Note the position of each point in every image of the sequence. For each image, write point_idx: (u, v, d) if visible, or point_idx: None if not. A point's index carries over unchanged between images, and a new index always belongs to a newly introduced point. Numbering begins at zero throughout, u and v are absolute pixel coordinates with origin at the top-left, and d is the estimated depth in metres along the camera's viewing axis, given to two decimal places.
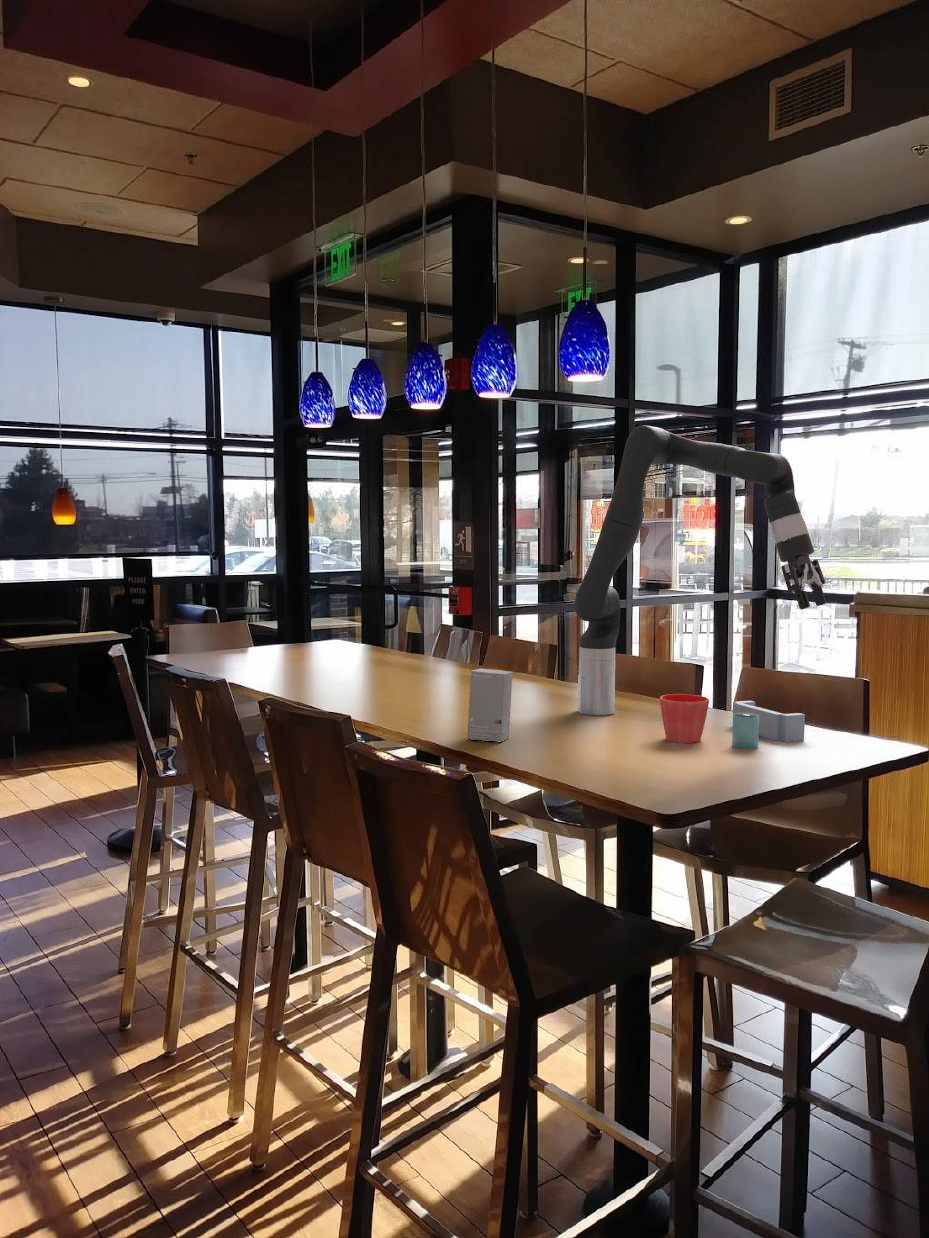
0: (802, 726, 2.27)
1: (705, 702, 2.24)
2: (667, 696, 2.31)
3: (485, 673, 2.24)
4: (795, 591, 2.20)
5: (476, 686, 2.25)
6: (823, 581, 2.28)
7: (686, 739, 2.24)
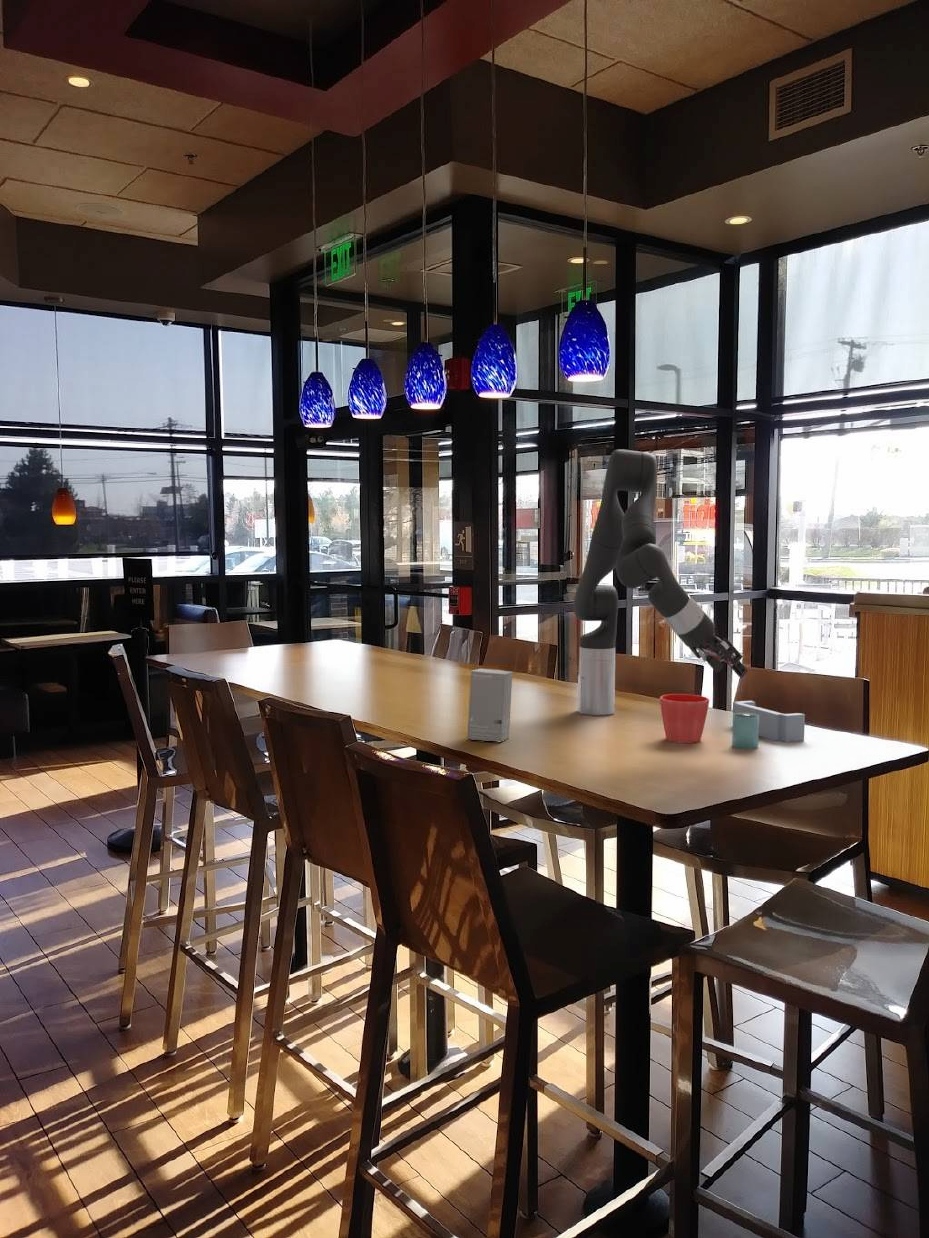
0: (802, 726, 2.27)
1: (705, 702, 2.24)
2: (667, 696, 2.31)
3: (485, 673, 2.24)
4: None
5: (476, 686, 2.25)
6: (732, 663, 2.11)
7: (686, 739, 2.24)
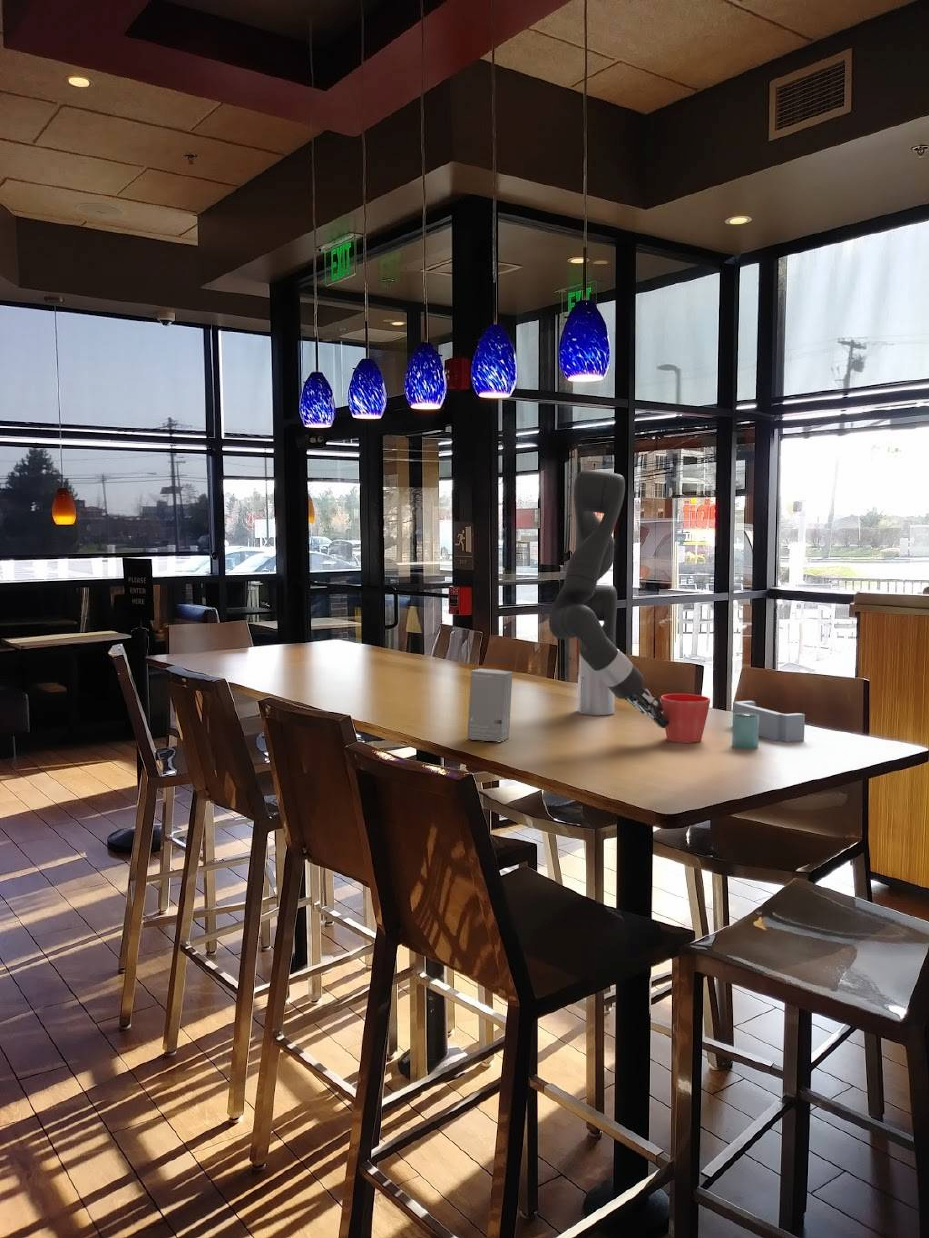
0: (802, 726, 2.27)
1: (706, 702, 2.24)
2: (668, 696, 2.31)
3: (485, 673, 2.24)
4: None
5: (476, 686, 2.25)
6: (653, 715, 2.22)
7: (687, 739, 2.24)
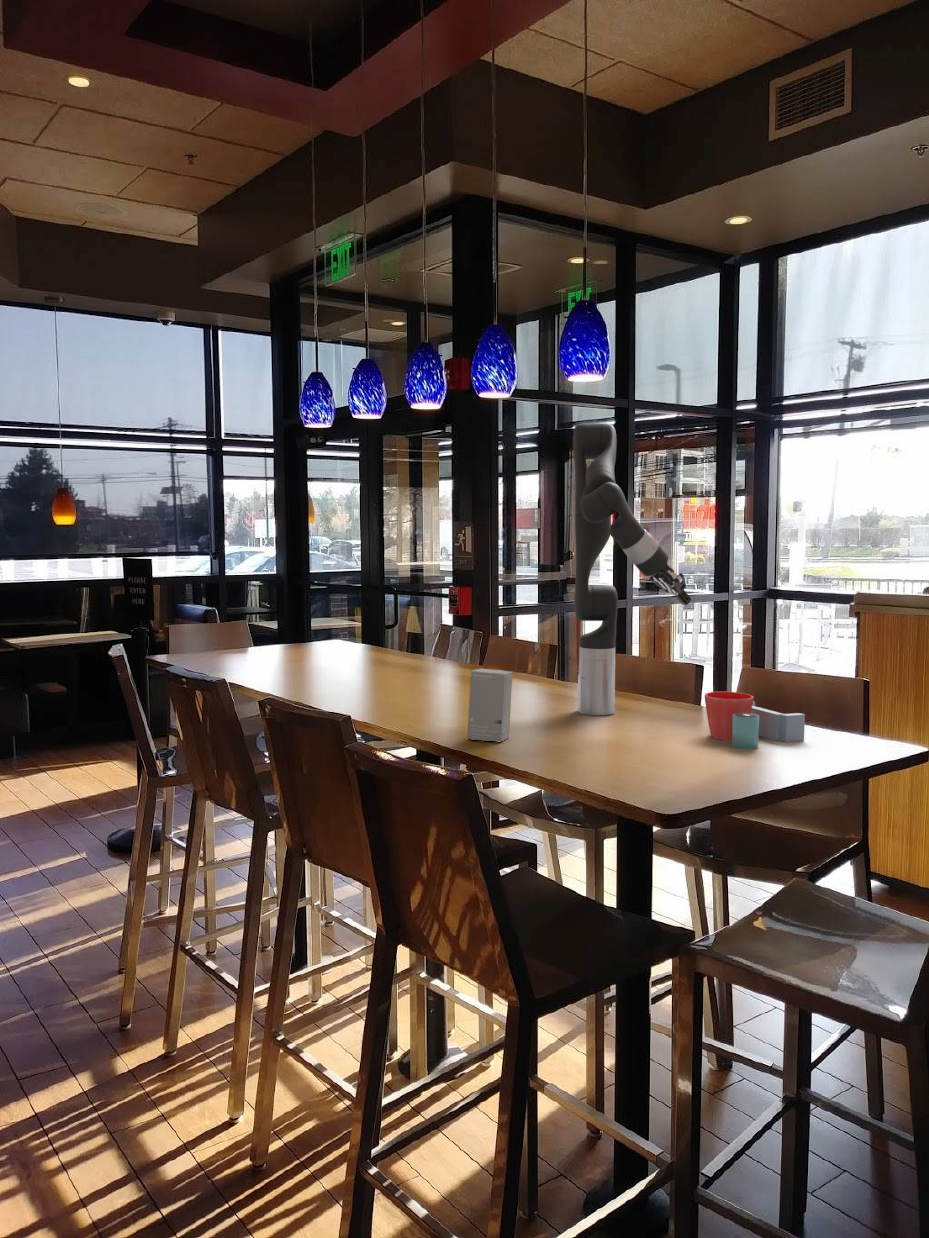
0: (802, 726, 2.27)
1: (750, 699, 2.28)
2: (711, 693, 2.35)
3: (485, 673, 2.24)
4: None
5: (476, 686, 2.25)
6: (677, 592, 2.43)
7: (731, 736, 2.28)
